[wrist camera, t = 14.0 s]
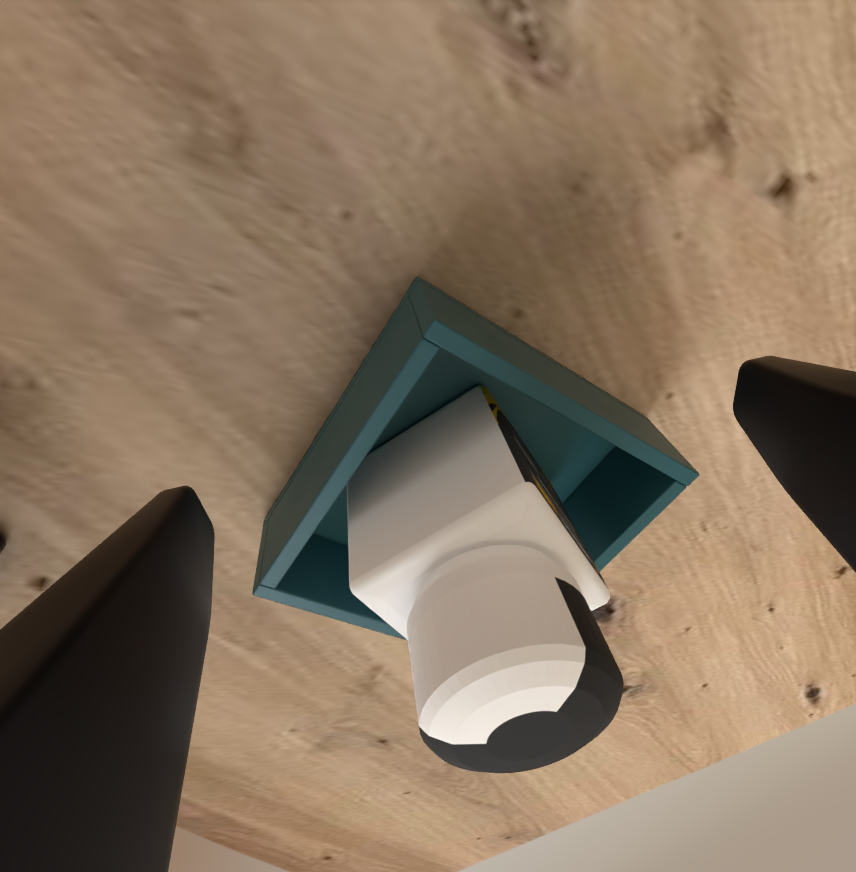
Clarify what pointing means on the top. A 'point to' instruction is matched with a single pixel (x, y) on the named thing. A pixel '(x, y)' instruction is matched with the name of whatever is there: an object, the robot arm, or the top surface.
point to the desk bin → (427, 393)
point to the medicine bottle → (483, 590)
